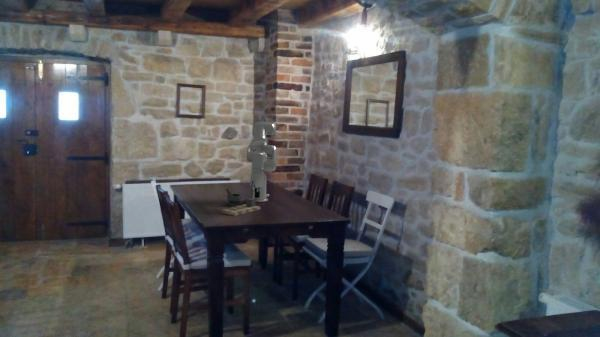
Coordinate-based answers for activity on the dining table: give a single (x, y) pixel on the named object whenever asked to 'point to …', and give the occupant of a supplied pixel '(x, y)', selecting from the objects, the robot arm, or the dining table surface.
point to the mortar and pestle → (233, 197)
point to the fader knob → (250, 202)
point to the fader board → (240, 210)
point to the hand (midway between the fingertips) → (257, 197)
